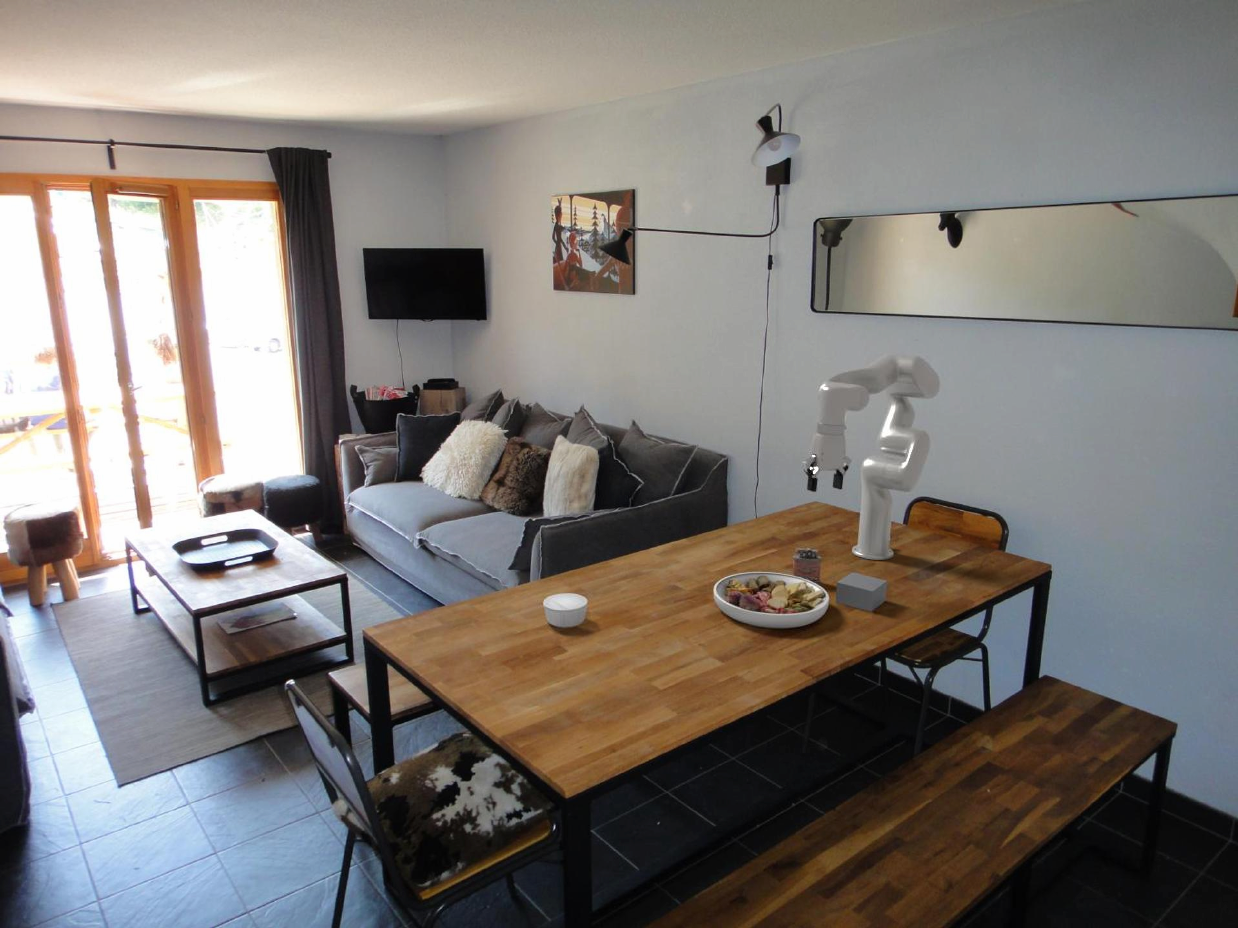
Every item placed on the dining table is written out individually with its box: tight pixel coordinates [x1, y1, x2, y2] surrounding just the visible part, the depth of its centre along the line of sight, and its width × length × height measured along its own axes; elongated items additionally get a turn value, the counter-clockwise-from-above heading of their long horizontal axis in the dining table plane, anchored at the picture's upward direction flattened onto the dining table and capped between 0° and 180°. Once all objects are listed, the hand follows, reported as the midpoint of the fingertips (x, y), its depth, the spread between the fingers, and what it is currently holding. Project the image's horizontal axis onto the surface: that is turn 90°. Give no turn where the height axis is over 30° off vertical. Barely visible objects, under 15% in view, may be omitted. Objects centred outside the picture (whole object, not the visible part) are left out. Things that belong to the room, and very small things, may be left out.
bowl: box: [713, 571, 830, 629], centre depth 222 cm, size 30×30×8 cm
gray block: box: [835, 572, 888, 613], centre depth 228 cm, size 10×10×6 cm
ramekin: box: [542, 592, 589, 628], centre depth 213 cm, size 11×11×5 cm
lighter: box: [791, 547, 823, 585], centre depth 241 cm, size 8×3×10 cm, turn 84°
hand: (824, 489), depth 237 cm, fingers open, 9 cm apart
